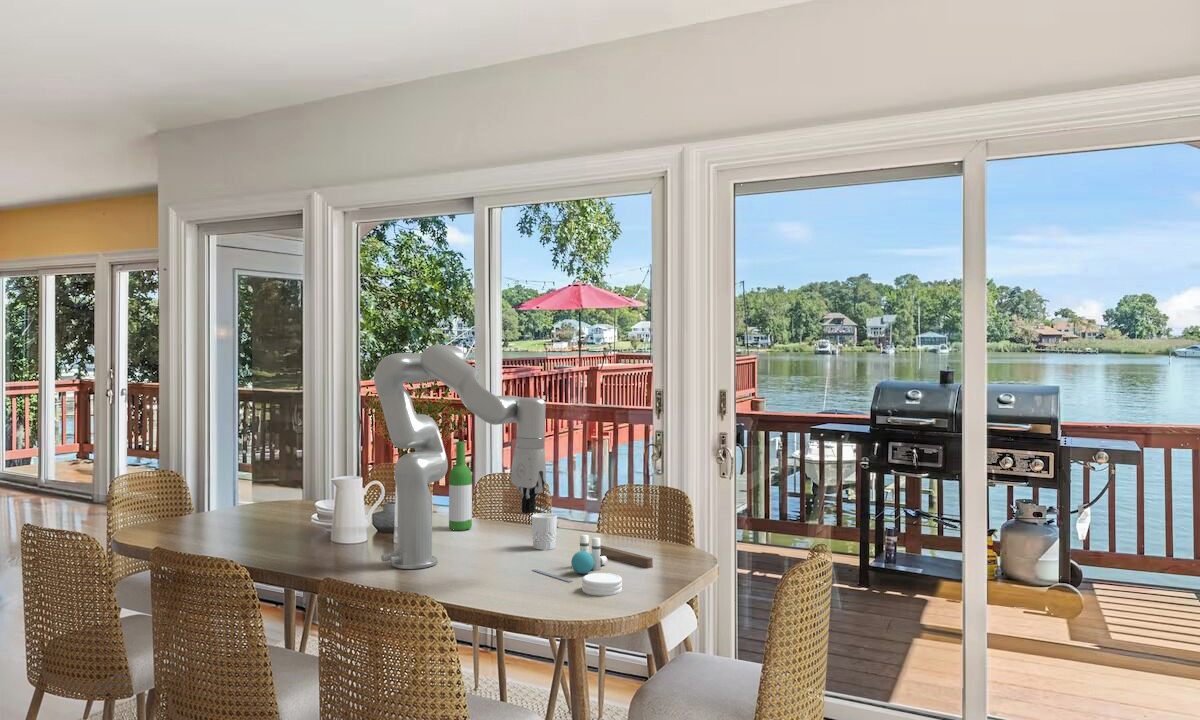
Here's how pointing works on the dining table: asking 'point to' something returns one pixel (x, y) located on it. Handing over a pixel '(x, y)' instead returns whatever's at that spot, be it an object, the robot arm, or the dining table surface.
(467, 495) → the wine bottle
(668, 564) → the dining table surface
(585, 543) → the pin back left
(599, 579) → the coaster
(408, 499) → the robot arm
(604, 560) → the pin front
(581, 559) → the ball
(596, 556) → the pin back right
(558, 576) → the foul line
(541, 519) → the white cup
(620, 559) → the backstop
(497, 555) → the dining table surface
